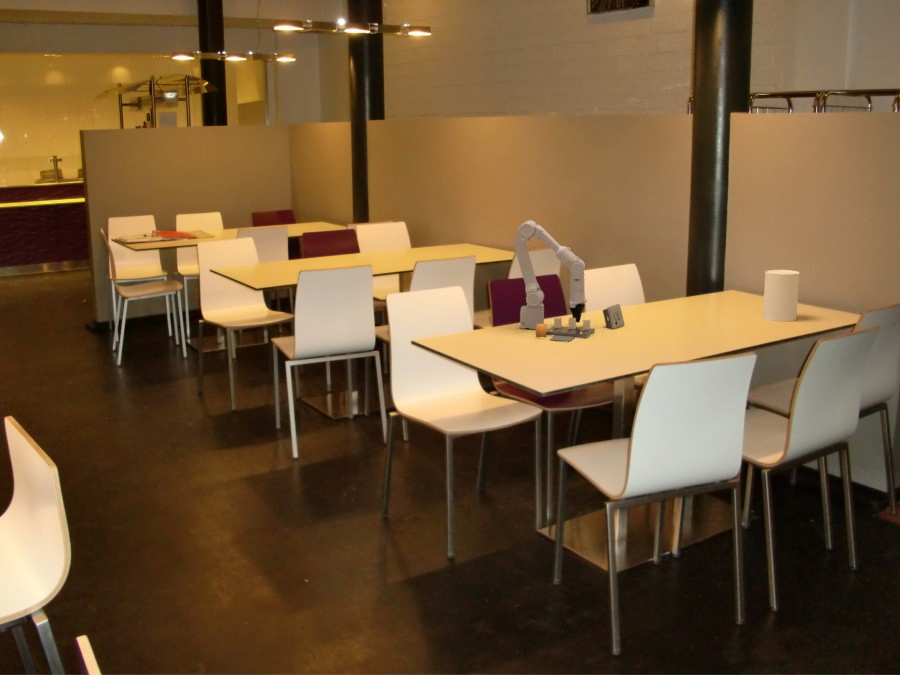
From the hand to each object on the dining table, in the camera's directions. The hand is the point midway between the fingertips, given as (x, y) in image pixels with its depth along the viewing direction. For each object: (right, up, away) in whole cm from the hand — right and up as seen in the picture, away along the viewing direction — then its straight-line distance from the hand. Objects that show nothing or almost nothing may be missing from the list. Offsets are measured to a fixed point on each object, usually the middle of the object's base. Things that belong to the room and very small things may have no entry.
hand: (576, 322), depth 375 cm
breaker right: (+3, -3, -8) cm, 9 cm away
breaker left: (-8, -2, -3) cm, 9 cm away
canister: (+88, +2, +15) cm, 90 cm away
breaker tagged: (-3, -3, -6) cm, 7 cm away
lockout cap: (-16, -6, -13) cm, 21 cm away
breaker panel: (-4, -5, -8) cm, 10 cm away
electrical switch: (+16, -2, +4) cm, 16 cm away
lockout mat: (-8, -7, -18) cm, 21 cm away
